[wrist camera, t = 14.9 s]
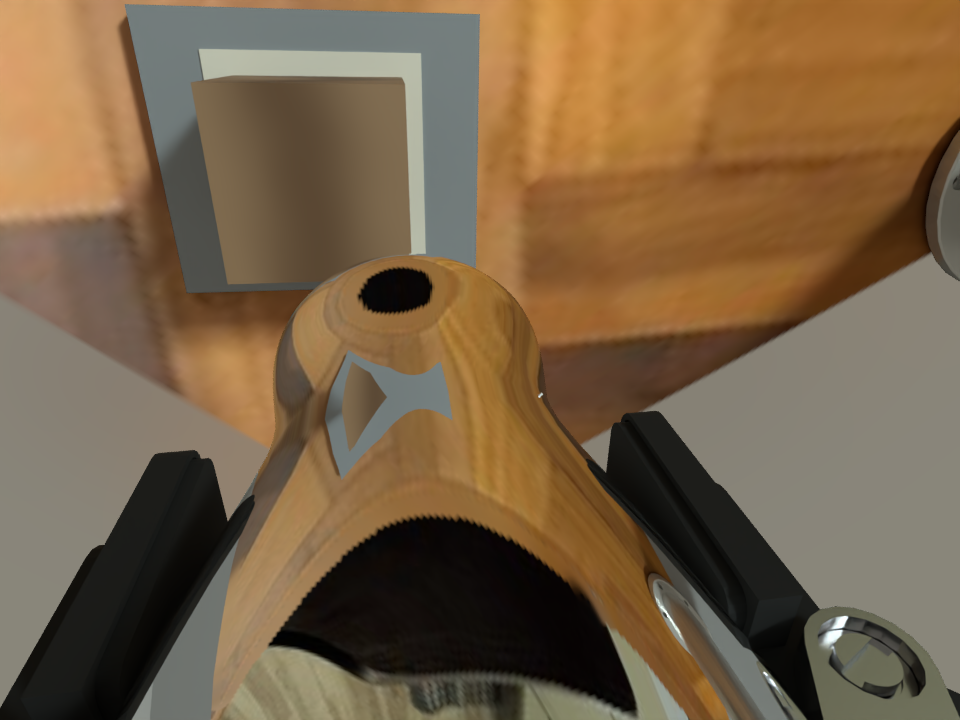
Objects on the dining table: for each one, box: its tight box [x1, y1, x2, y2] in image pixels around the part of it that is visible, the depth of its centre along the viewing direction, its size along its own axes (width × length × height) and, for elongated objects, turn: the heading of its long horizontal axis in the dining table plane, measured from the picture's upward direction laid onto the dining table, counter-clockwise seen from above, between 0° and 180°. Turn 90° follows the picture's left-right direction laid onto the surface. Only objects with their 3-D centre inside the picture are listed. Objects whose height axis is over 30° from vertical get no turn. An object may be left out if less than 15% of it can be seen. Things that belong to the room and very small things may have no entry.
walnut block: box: [191, 75, 411, 284], centre depth 25 cm, size 7×7×6 cm
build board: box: [125, 4, 480, 293], centre depth 28 cm, size 14×12×1 cm
